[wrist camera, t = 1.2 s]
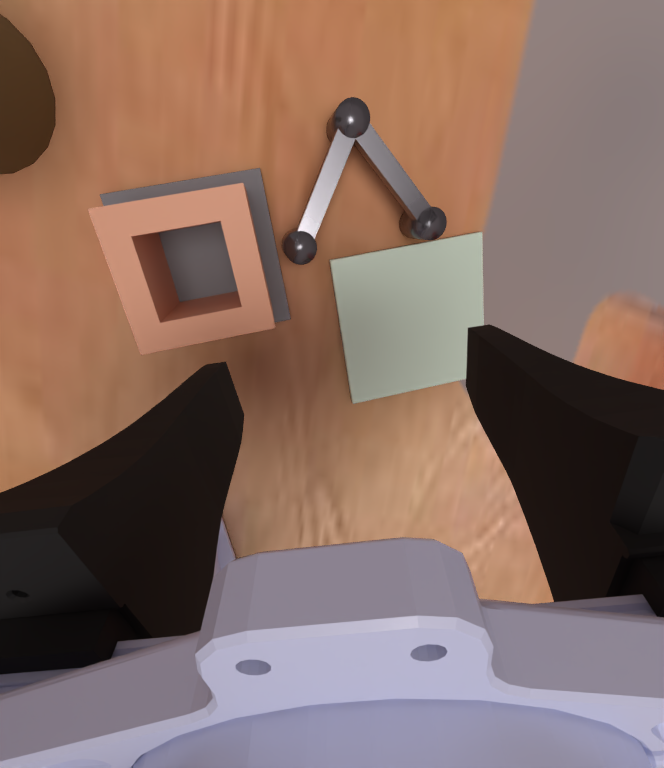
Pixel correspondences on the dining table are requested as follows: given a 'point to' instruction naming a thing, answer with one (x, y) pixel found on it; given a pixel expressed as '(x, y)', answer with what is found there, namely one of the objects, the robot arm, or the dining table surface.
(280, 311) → the mat
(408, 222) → the grey v-shaped linkage
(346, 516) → the dining table surface
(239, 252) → the tan square ring block
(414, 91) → the dining table surface
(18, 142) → the olive green pawn
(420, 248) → the pad
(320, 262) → the dining table surface
